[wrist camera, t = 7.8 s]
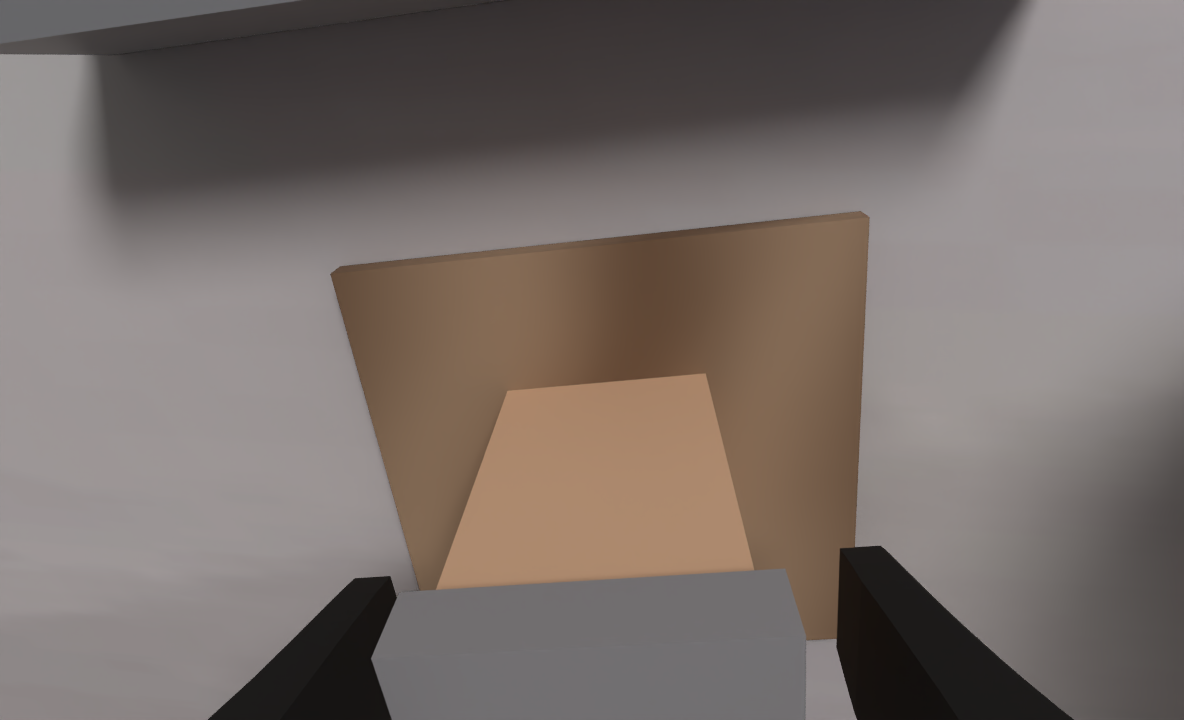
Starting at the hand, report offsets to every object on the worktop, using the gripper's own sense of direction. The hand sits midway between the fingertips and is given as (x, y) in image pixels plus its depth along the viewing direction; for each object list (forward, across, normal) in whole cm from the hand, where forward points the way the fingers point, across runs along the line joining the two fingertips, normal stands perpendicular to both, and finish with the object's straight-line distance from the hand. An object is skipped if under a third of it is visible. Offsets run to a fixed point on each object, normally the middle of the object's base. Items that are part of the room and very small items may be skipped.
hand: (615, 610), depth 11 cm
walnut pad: (+4, 0, 0) cm, 4 cm away
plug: (+4, 0, 0) cm, 4 cm away
